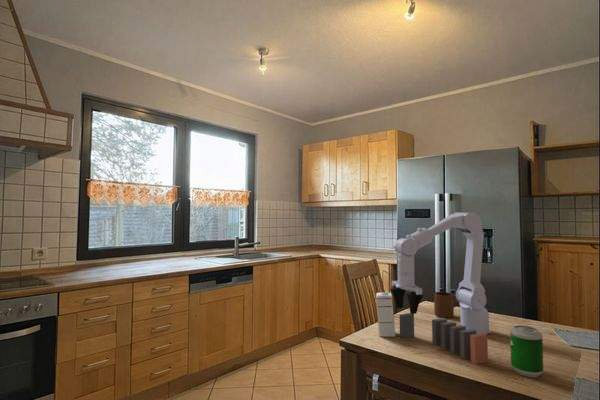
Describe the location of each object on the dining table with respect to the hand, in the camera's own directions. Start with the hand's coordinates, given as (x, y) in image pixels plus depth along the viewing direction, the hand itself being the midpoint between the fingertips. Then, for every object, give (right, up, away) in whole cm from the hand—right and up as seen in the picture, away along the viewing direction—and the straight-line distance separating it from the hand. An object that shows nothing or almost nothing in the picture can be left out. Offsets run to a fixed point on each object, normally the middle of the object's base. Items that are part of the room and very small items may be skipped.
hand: (406, 310), depth 127 cm
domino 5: (+14, -9, -17) cm, 24 cm away
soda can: (+25, -9, -28) cm, 39 cm away
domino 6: (+15, -9, -21) cm, 27 cm away
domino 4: (+12, -9, -14) cm, 20 cm away
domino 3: (+11, -9, -10) cm, 17 cm away
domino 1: (0, -9, 0) cm, 9 cm away
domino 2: (+9, -9, -6) cm, 15 cm away
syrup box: (-6, -10, +3) cm, 12 cm away
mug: (+25, -10, +24) cm, 36 cm away
